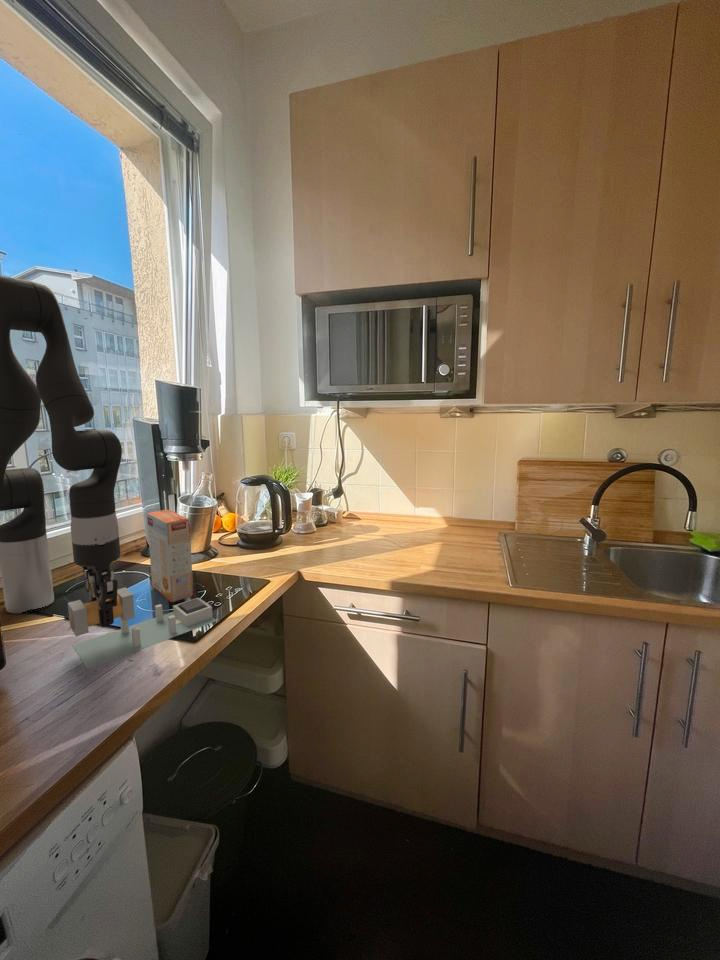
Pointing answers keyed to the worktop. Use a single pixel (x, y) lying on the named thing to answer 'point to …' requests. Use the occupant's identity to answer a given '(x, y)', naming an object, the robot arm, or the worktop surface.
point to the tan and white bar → (89, 613)
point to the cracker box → (170, 554)
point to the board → (141, 634)
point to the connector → (192, 606)
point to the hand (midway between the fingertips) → (103, 619)
